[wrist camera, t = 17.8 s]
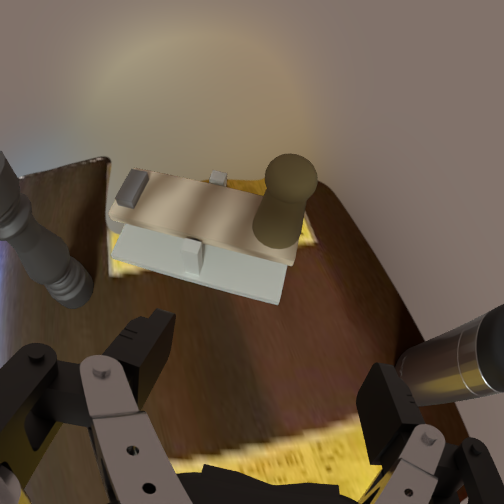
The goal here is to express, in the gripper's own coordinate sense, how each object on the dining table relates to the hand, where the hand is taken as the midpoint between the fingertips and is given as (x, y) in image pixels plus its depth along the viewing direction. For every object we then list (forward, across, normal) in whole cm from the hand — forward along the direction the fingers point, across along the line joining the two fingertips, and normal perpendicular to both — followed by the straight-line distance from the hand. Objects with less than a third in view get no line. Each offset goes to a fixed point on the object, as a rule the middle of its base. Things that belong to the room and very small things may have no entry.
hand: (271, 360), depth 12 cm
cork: (+29, 0, +1) cm, 29 cm away
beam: (+30, +9, +2) cm, 31 cm away
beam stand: (+34, +9, +6) cm, 36 cm away
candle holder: (+25, +25, +16) cm, 39 cm away
